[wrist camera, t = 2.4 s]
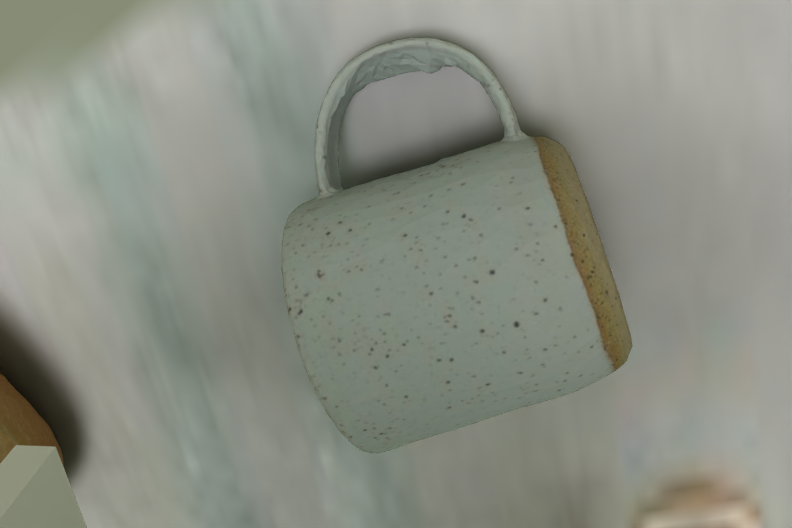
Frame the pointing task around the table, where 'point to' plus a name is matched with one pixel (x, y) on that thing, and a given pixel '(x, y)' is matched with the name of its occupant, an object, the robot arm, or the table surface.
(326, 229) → the ceramic mug
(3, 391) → the bread roll
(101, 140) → the table surface
